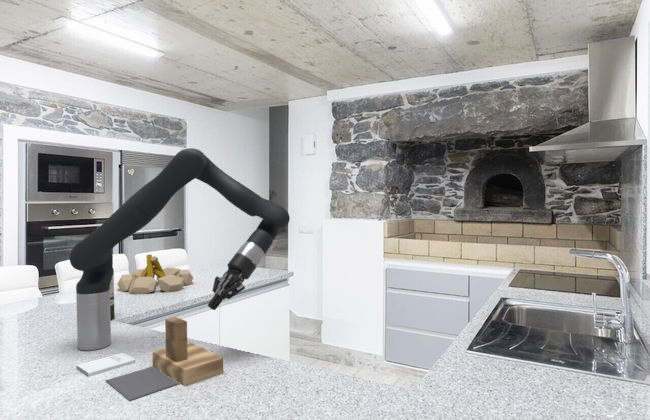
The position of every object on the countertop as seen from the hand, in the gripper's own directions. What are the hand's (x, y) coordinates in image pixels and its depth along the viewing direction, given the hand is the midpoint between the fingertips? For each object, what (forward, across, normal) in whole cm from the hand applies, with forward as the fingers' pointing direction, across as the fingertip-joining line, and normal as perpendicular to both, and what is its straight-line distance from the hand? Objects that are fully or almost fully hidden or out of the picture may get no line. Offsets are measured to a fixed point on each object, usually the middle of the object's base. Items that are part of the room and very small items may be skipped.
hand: (211, 307), depth 120 cm
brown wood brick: (+15, 0, 0) cm, 15 cm away
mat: (+25, 0, -3) cm, 25 cm away
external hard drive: (+27, -19, -4) cm, 33 cm away
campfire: (-13, -108, +35) cm, 114 cm away
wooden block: (+16, 0, +6) cm, 17 cm away
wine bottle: (+15, -66, +7) cm, 68 cm away
